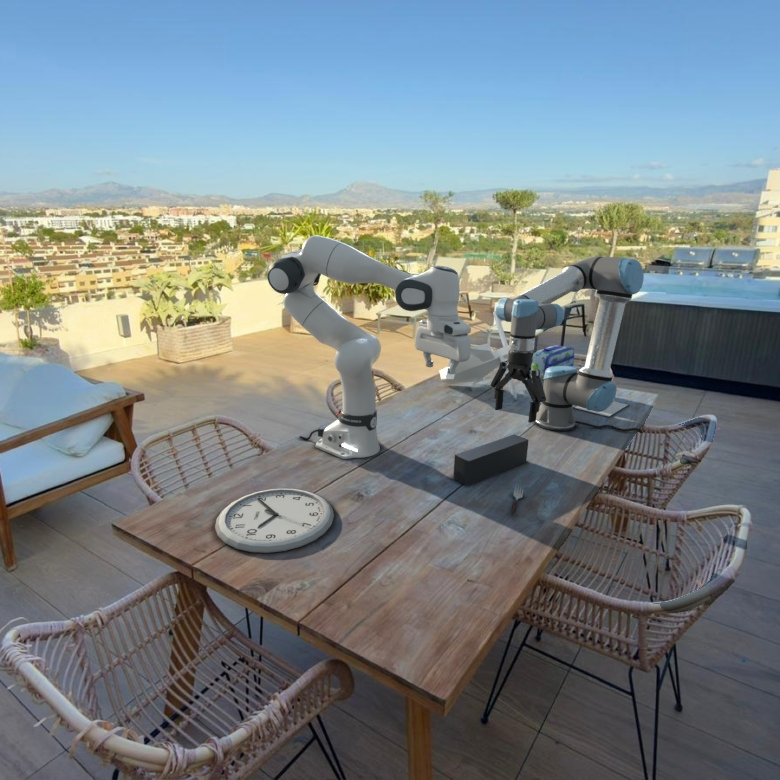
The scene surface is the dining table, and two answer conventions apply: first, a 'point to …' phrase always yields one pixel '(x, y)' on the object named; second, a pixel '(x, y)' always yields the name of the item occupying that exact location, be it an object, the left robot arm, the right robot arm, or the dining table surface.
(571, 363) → the lunch box
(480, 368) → the white plastic object
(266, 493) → the wall clock
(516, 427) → the dining table surface
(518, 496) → the fork
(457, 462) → the bar
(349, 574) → the dining table surface
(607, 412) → the invitation card
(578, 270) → the right robot arm
